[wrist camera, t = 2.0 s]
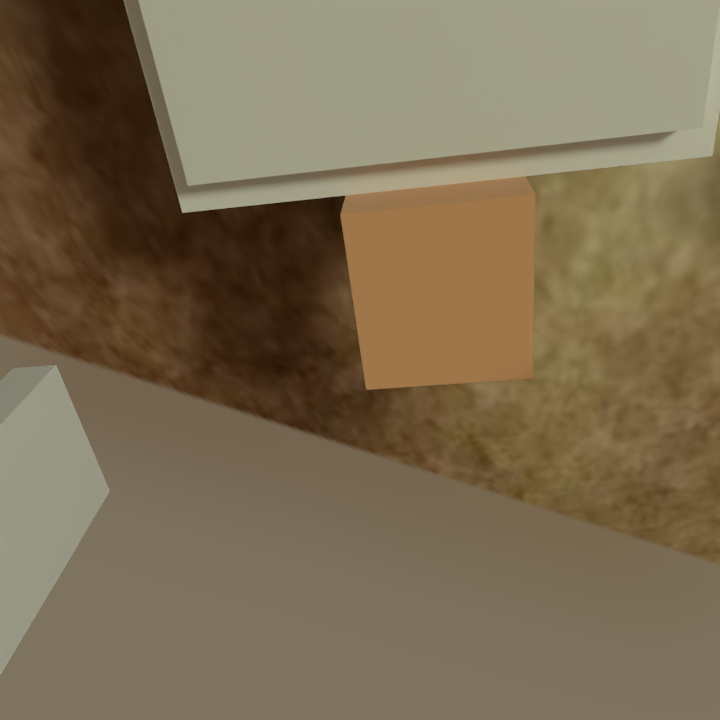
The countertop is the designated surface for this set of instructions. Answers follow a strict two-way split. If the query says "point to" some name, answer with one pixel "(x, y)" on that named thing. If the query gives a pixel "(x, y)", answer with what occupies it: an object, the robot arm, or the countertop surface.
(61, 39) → the countertop surface
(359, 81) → the lid
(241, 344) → the countertop surface
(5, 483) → the robot arm
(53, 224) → the countertop surface
